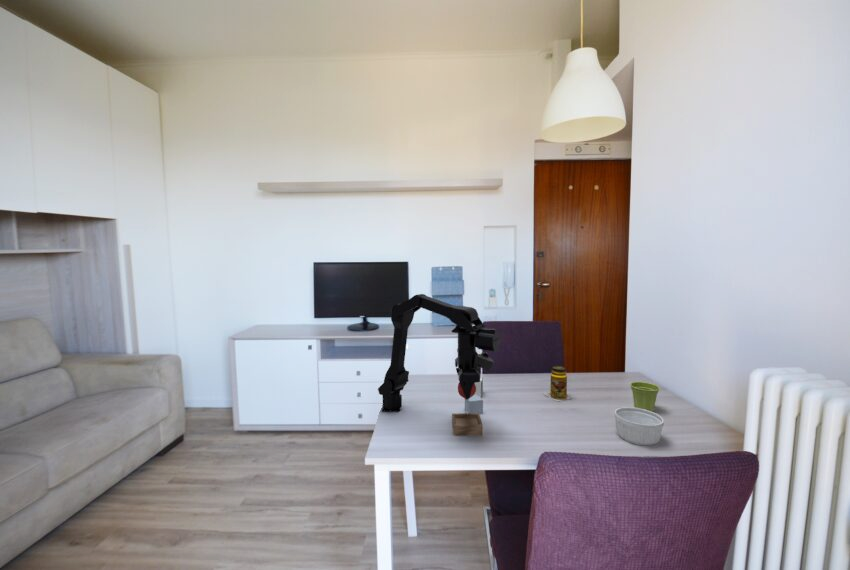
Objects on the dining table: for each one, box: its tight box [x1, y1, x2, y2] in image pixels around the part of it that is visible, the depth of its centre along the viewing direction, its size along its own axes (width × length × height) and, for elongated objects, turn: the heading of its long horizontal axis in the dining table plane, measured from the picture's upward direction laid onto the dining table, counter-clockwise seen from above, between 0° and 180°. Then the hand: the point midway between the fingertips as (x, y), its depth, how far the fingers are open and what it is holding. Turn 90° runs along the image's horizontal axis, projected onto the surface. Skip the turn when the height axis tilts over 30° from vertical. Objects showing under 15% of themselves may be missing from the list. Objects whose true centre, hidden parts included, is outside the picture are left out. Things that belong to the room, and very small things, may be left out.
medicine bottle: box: [474, 367, 484, 399], centre depth 152 cm, size 7×7×12 cm
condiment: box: [543, 365, 572, 402], centre depth 149 cm, size 7×8×12 cm
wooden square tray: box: [451, 412, 484, 437], centre depth 122 cm, size 9×9×4 cm
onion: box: [457, 381, 476, 400], centre depth 121 cm, size 6×6×8 cm
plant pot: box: [629, 381, 661, 412], centre depth 136 cm, size 9×9×9 cm
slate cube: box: [464, 395, 484, 415], centre depth 136 cm, size 5×5×5 cm
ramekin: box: [614, 406, 665, 446], centre depth 115 cm, size 13×13×7 cm
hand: (466, 394), depth 121 cm, fingers closed on onion, 6 cm apart
